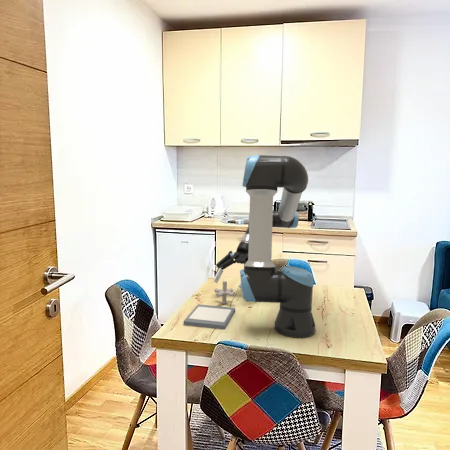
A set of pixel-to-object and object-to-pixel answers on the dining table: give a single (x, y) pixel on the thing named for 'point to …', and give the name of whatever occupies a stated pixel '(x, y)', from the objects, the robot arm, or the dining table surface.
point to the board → (210, 316)
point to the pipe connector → (224, 292)
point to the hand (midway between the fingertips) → (227, 284)
